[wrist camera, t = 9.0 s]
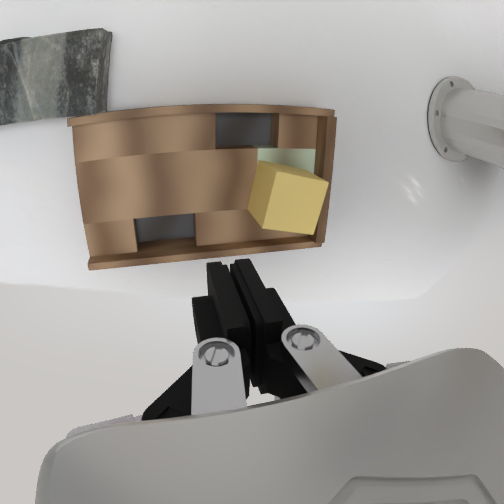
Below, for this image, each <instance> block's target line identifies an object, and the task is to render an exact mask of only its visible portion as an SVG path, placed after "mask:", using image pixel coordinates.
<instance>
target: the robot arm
mask: <svg viewBox="0 0 504 504" xmlns="http://www.w3.org/2000/svg"><path fill="white" fill-rule="evenodd" d="M428 124H429V131H430V135H431V139H432V141H433V144H434V146H435V148H436V149H437V151H438V152H439V153H440V154H441V155H442V156H443V157H444V158H446V159H448V160H451V161H455V162H460V161H463V160H465V159H467V158H468V157H469V156H471V157H474V158H477V159H479V160H482V161H485V162H488V163H490V164H493V165H495V166H498V167H501V168H503V169H504V95H500V94H495V93H489V92H483V91H477V90H475V89H474V88H473V87H472V85H471V84H470V83H469V82H468V81H466V80H464V79H463V78H459V77H448V78H445V79H444V80H442V81H441V82H440V83H439V84H438V85H437V87H436V88H435V90H434V92H433V94H432V97H431V100H430V104H429V112H428ZM207 284H208V296H202V297H193V298H192V307H193V317H194V324H195V331H196V336H197V342H198V345H197V346H196V348H195V349H194V352H193V365H192V366H191V367H190V368H189V369H188V370H187V371H186V372H185V373H184V374H183V375H182V376H181V377H180V378H179V379H178V380H177V381H176V382H175V383H173V384H172V385H171V386H170V387H169V388H168V389H167V390H166V391H165V392H164V393H163V394H162V395H161V396H160V397H159V398H157V400H155V401H154V402H153V403H152V404H151V405H150V406H149V407H148V408H147V409H146V410H145V412H144V413H143V415H140V416H137V417H133V415H132V414H131V415H128V416H124V417H120V418H116V419H112V420H108V421H104V422H99V423H95V424H90V425H86V426H82V427H78V428H75V429H73V430H72V431H70V432H69V433H68V435H67V437H66V438H65V439H63V440H61V441H60V442H58V443H56V444H55V445H54V446H53V447H52V448H51V449H50V450H49V451H48V453H47V455H46V456H45V458H44V460H43V463H42V465H41V469H40V473H39V477H38V483H37V490H36V499H35V504H504V368H503V367H502V366H501V365H500V364H499V363H498V362H497V361H496V360H494V359H493V358H492V357H491V356H489V355H488V354H486V353H485V352H484V351H481V350H478V349H473V348H456V349H449V350H445V351H441V352H437V353H433V354H431V355H428V356H425V357H422V358H418V359H416V360H413V361H406V362H398V363H391V364H387V365H386V367H384V366H383V365H381V364H379V363H377V362H373V361H370V360H367V359H364V358H361V357H358V356H355V355H351V354H348V353H345V352H342V351H339V350H337V349H336V348H335V347H334V345H333V344H332V343H331V342H330V341H329V340H328V339H327V338H326V337H325V335H323V333H322V332H320V331H319V330H318V329H317V328H314V327H312V326H308V325H296V324H295V323H294V321H293V319H292V318H291V316H290V314H289V313H288V311H287V309H286V307H285V305H284V304H283V302H282V300H281V299H280V297H279V295H278V293H277V292H276V290H275V289H274V288H265V286H264V284H263V283H262V281H261V279H260V277H259V275H258V273H257V271H256V270H255V268H254V266H253V264H252V262H251V260H250V259H239V260H235V264H230V272H229V269H228V267H227V265H222V263H221V261H220V262H210V263H207ZM250 380H251V383H252V385H253V387H257V386H258V388H259V391H260V393H261V394H265V393H270V394H272V395H274V396H275V401H271V402H266V403H262V404H256V405H251V406H247V404H246V399H247V398H248V396H249V386H250Z"/></svg>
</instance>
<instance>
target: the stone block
mask: <svg viewBox="0 0 504 504" xmlns="http://www.w3.org/2000/svg"><path fill="white" fill-rule="evenodd" d="M111 41H112V32H107V31H106V30H104V29H103V28H97V29H87V30H79V31H72V32H66V33H58V34H52V35H45V36H39V37H34V38H30V37H21V38H14V39H7V40H2V41H0V125H5V124H11V123H18V122H25V121H33V120H41V119H49V118H58V117H71V116H84V115H96V114H99V113H104V112H107V109H106V107H107V87H108V70H109V57H110V47H111Z"/></svg>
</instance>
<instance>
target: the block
mask: <svg viewBox="0 0 504 504" xmlns="http://www.w3.org/2000/svg"><path fill="white" fill-rule="evenodd" d="M328 184H329V182H327V181H325V180H324V179H322V178H320V177H318V176H316V175H314V174H313V173H311V172H309V171H307V170H305V169H300V168H296V167H291V166H286V165H282V164H277V163H272V162H267V161H262V160H259V162H258V166H257V170H256V174H255V178H254V183H253V187H252V191H251V195H250V200H249V204H248V208H247V209H248V211H249V212H250V213H251V215H252V216H253V217H254V218H255V220H256V221H257V222H258V224H259V225H260V226H261V227H262V228H263V229H271V230H279V231H287V232H295V233H303V234H310V235H313V234H314V231H315V228H316V225H317V221H318V218H319V215H320V212H321V208H322V205H323V201H324V198H325V195H326V191H327V188H328Z"/></svg>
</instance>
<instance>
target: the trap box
mask: <svg viewBox="0 0 504 504" xmlns="http://www.w3.org/2000/svg"><path fill="white" fill-rule="evenodd" d="M334 111H335V110H330V109H322V108H312V107H299V106H283V105H260V104H201V105H178V106H162V107H149V108H138V109H128V110H120V111H111V112H104V113H99V114H96V115H84V116H78V117H73V118H68V119H67V125H68V127H69V126H72V131H73V144H74V156H75V166H76V175H77V183H78V190H79V198H80V204H81V211H82V217H83V223H84V228H85V234H86V239H87V244H88V249H89V254H90V259H89V261H88V268H89V270H99V269H109V268H119V267H128V266H138V265H148V264H158V263H168V262H178V261H187V260H197V259H207V258H217V257H226V256H236V255H246V254H255V253H265V252H275V251H284V250H294V249H304V248H313V247H321V246H322V243H324V241H325V233H326V225H327V217H328V208H329V199H330V190H331V180H332V170H333V159H334V148H335V135H336V121H337V117H334ZM259 160H262V161H267V162H272V163H277V164H282V165H286V166H291V167H296V168H300V169H305V170H307V171H309V172H311V173H313V174H314V175H316V176H318V177H320V178H322V179H324V180H325V181H327V182H329V184H328V188H327V191H326V195H325V198H324V201H323V205H322V208H321V212H320V215H319V218H318V221H317V225H316V228H315V231H314V234H313V235H310V234H303V233H295V232H287V231H279V230H271V229H263V228H262V227H261V226H260V225H259V224H258V222H257V221H256V220H255V218H254V217H253V216H252V215H251V213H250V212H249V211H248V209H247V208H248V204H249V200H250V195H251V191H252V187H253V183H254V178H255V174H256V170H257V166H258V162H259Z"/></svg>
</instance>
